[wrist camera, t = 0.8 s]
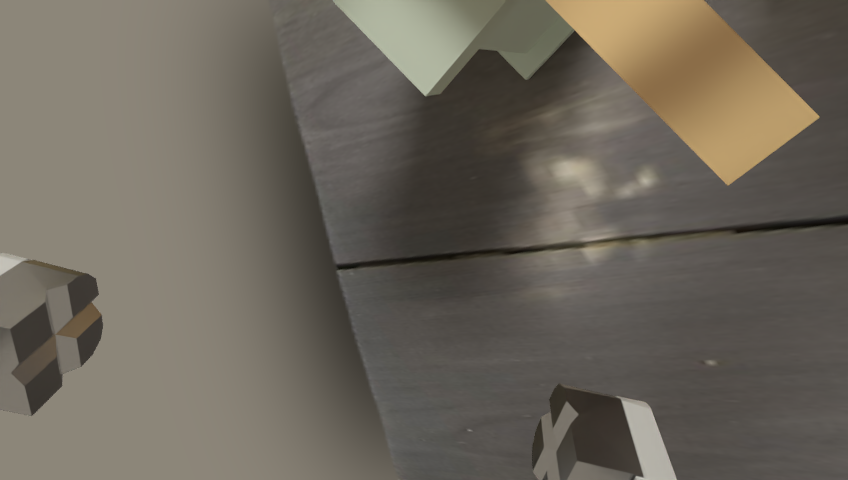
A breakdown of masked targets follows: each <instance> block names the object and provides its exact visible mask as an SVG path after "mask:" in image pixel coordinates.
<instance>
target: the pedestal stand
mask: <svg viewBox="0 0 848 480" xmlns="http://www.w3.org/2000/svg"><path fill="white" fill-rule="evenodd" d="M333 2H334V3H335V4H336V5H337V6H338V7H339V8H340V9H341V10H342V11H343V12H344V13H345V14H346V15H347V16H348V17H349V18H350V19H351V20H352V21H353V22H354V23H355V24H356V25H357V26H358V27H359V28H360V29H361V30H362V31H363V32H364V34H365V35H366V36H367V37H368V38H369V39H370V40H371V41H372V42H373V43H374V44H375V45H376V46H377V47H378V48H379V49H380V50H381V51H382V52H383V53H384V54H385V55H386V56H387V57H388V58H389V59H390V60H391V61H392V62H393V63H394V64H395V66H396V67H397V68H398V69H399V70H400V71H401V72H402V73H403V74H404V75H405V76H406V77H407V78H408V79H409V80H410V81H411V82H412V83H413V84H414V85H415V86H416V87H417V88H418V89H419V90H420V91H421V92H422V93H423V94H424V95H425V96H431V95H437V94H441V93H442V92H443V90H444V89H445V88H446V87H447V86H448V85H449V83H450V82H451V81H452V80H453V79H454V78H455V76H456V75H457V74H458V73H459V72H460V71H461V69H462V68H463V67H464V66H465V65H466V64H467V62H468V61H469V60H470V59H471V58H472V57H473V55H474V54H475V53H476V52H477V51H478V50H479V49H484V50H494V51H498V52H499V53H500V54H501V55H502V56H503V57H504V58H505V60H506V61H507V62H508V63H509V64H510V65H511V66H512V67H513V68H514V69H515V70H516V71H517V72H518V73H519V74H520V75H521V76H522V77H523V78H524V79H525V80H529V79H530V78H531V77H532V75H533V74H534V73H535V72H536V71H537V70H538V69H539V68H540V67H541V66H542V65H543V64H544V63H545V62H546V61H547V60H548V59H549V58H550V56H551V55H552V54H553V53H554V52H555V51H556V50H557V49H558V48H559V47H560V46H561V45H562V44H563V43H564V42H565V41H566V40H567V38H568V37H569V36H570V35H571V34H572V33H573V32H574V31H575V30H574V29H573V28H572V27H571V26H570V25H569V24H568V23H567V22H566V21H565V20H564V19H563V18H562V17H561V16H560V15H559V14H558V13H557V12H556V11H555V10H554V9H553V8H552V7H551V6H550V5H549V4H548V3H547V2H546V1H545V0H333Z"/></svg>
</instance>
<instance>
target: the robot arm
mask: <svg viewBox="0 0 848 480" xmlns="http://www.w3.org/2000/svg"><path fill="white" fill-rule="evenodd" d="M98 295H99V293H98V287H97V282H96V278H94V277H92V276H91V275H89V274H87V273H82V272H79V271H75V270H71V269H67V268H63V267H60V266H55V265H52V264H48V263H44V262H40V261H36V260H29V259H26V258H22V257H18V256H14V255H11V254H7V253H1V254H0V410H4V411H9V412H14V413H19V414H24V415H29V416H32V415H33V414H34V413H35V412H36V411H37V410H38V409H39V408H40V407H41V406H43V404H44V403H46V402H47V400H49V398H50V397H52V396H53V394H54V393H56V391H57V390H59V389H60V388H61V387H62V376H63V374H64V373H66V372H69V371H72V370H74V369H77V368H79V367H81V366H82V365H83V364H84V363H85V362H86V361H87V360H88V359H89V358H90V356H92V355H93V353H94V351H95V349H96V347H97V345H98V343H99V341H100V339H101V335H102V329H103V322H102V315H101V313H100V312H99V311H98V310H97V309H96V307H95V306H94V305H93V304H92V301H93V300H94V299H95V298H96V297H97V296H98ZM549 402H550V410H551V412H549V413H548V414H546V415H544V416H542V417H541V418H540V421H539V423H538V426H537V428H536V431H535V435H534V440H533V445H532V469H533V473H534V474H535V476H536V477H537V478H538V480H677V478H676V475H675V473H674V470H673V467H672V465H671V462H670V459H669V456H668V454H667V451H666V448H665V446H664V443H663V440H662V437H661V435H660V432H659V429H658V426H657V424H656V421H655V418H654V416H653V413H652V410H651V408H650V406H649V405H648V404H647V403H646V402H643V401H638V400H633V399H628V398H624V397H619V396H616V397H615V396H612V395H608V394H603V393H599V392H594V391H590V390H586V389H581V388H577V387H572V386H568V385H563V384H558V385H557V386H556V387H555V388H554V390H553V392H552V394H551V396H550V398H549Z"/></svg>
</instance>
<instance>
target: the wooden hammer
mask: <svg viewBox="0 0 848 480" xmlns="http://www.w3.org/2000/svg"><path fill="white" fill-rule="evenodd" d="M545 1H546V2H547V3H548V4H549V5H550V6H551V7H552V8H553V9H554V10H555V11H556V12H557V13H558V14H559V15H560V16H561V17H562V18H563V19H564V20H565V21H566V22H567V23H568V24H569V25H570V26H571V27H572V28H573V29H574V30H575V31H576V32H577V33H578V34H579V35H580V36H581V37H582V38H583V39H584V40H585V41H586V42H587V43H588V44H589V45H590V46H591V47H592V48H593V49H594V50H595V51H596V52H597V53H598V54H599V55H600V56H601V57H602V58H603V59H604V60H605V61H606V62H607V63H608V64H609V66H610V67H611V68H612V69H613V70H614V71H615V72H616V73H617V74H618V75H619V76H620V77H621V78H622V79H623V80H624V81H625V82H626V83H627V84H628V85H629V86H630V87H631V88H632V89H633V90H634V91H635V92H636V93H637V94H638V95H639V96H640V97H641V98H642V99H643V100H644V101H645V102H646V103H647V104H648V105H649V106H650V107H651V108H652V109H653V110H654V111H655V112H656V113H657V114H658V115H659V116H660V117H661V118H662V119H663V120H664V121H665V122H666V123H667V124H668V125H669V126H670V127H671V128H672V130H673V131H674V132H675V133H676V134H677V135H678V136H679V137H680V138H681V139H682V140H683V141H684V142H685V143H686V144H687V145H688V146H689V147H690V148H691V149H692V150H693V151H694V152H695V153H696V154H697V155H698V156H699V157H700V158H701V159H702V160H703V161H704V162H705V163H706V164H707V165H708V166H709V167H710V168H711V169H712V170H713V171H714V172H715V173H716V174H717V175H718V176H719V177H720V178H721V179H722V180H723V181H724V182H725V183H726V184H727V185H730V184H731V183H732V182H734V181H735V180H736V179H738V178H739V177H740V176H742V175H743V174H744V173H746V172H747V171H748V170H750V169H751V168H752V167H754V166H755V165H757V164H758V163H759V162H761V161H762V160H763V159H765V158H766V157H767V156H769V155H770V154H771V153H773V152H774V151H775V150H777V149H778V148H779V147H781V146H782V145H783V144H785V143H786V142H787V141H789V140H790V139H791V138H793V137H794V136H795V135H797V134H798V133H799V132H801V131H802V130H804V129H805V128H806V127H808V126H809V125H810V124H812V123H813V122H814V121H816V120H817V119H818V118H820V117H819V116H818V115H817V114H816V113H815V112H814V111H813V110H812V109H811V108H810V107H809V105H808V104H807V103H806V102H805V101H804V100H803V99H802V98H801V97H800V96H799V95H798V94H797V93H796V92H795V91H794V90H793V89H792V88H791V87H790V86H789V85H788V84H787V83H786V82H785V81H784V80H783V79H782V78H781V77H780V76H779V75H778V74H777V73H776V72H775V71H774V70H773V69H772V68H771V67H770V66H769V65H768V64H767V63H766V62H765V61H764V60H763V59H762V58H761V57H760V56H759V55H758V54H757V53H756V52H755V51H754V50H753V49H752V48H751V47H750V46H749V45H748V44H747V43H746V42H745V41H744V40H743V39H742V38H741V37H740V36H739V35H738V34H737V33H736V32H735V31H734V30H733V29H732V28H731V27H730V26H729V25H728V24H727V23H726V22H725V21H724V20H723V19H722V18H721V17H720V16H719V15H718V14H717V13H716V12H715V11H714V10H713V9H712V8H711V7H710V6H709V5H708V4H707V3H706V2H705V1H704V0H545Z"/></svg>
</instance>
